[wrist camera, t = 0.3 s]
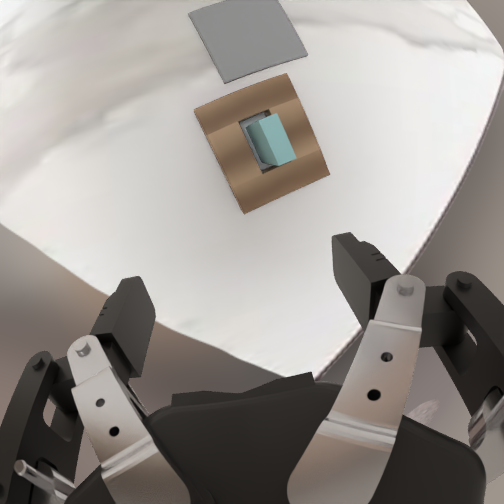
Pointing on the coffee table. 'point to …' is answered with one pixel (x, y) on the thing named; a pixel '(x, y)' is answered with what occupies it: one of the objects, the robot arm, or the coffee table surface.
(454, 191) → the coffee table surface
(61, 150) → the coffee table surface
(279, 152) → the teal rectangular block
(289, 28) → the mat
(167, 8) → the coffee table surface
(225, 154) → the holder
